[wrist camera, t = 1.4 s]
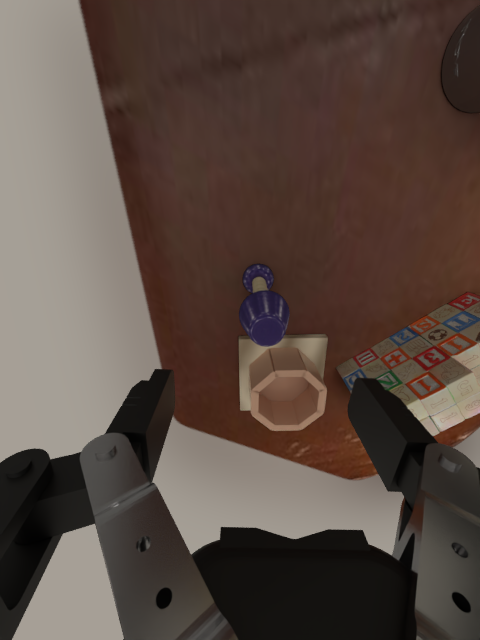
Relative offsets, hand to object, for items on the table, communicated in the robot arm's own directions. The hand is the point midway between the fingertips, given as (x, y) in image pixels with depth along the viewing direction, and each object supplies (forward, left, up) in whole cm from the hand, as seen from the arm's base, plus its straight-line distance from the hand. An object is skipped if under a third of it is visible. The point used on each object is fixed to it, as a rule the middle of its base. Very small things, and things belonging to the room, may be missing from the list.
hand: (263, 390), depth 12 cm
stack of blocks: (-24, +12, -27) cm, 38 cm away
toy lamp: (-1, +2, -26) cm, 27 cm away
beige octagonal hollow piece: (-5, +17, -25) cm, 31 cm away
